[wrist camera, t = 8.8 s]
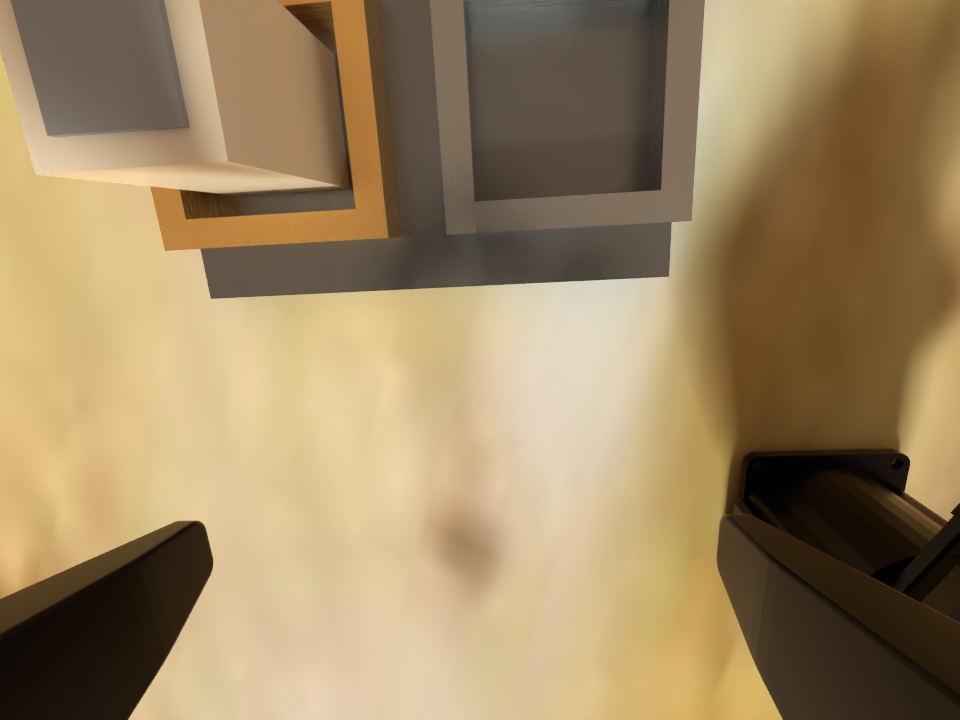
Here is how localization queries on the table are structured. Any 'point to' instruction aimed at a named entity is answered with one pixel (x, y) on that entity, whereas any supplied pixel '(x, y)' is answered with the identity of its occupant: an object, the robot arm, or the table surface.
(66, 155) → the plug
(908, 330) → the table surface
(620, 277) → the panel
